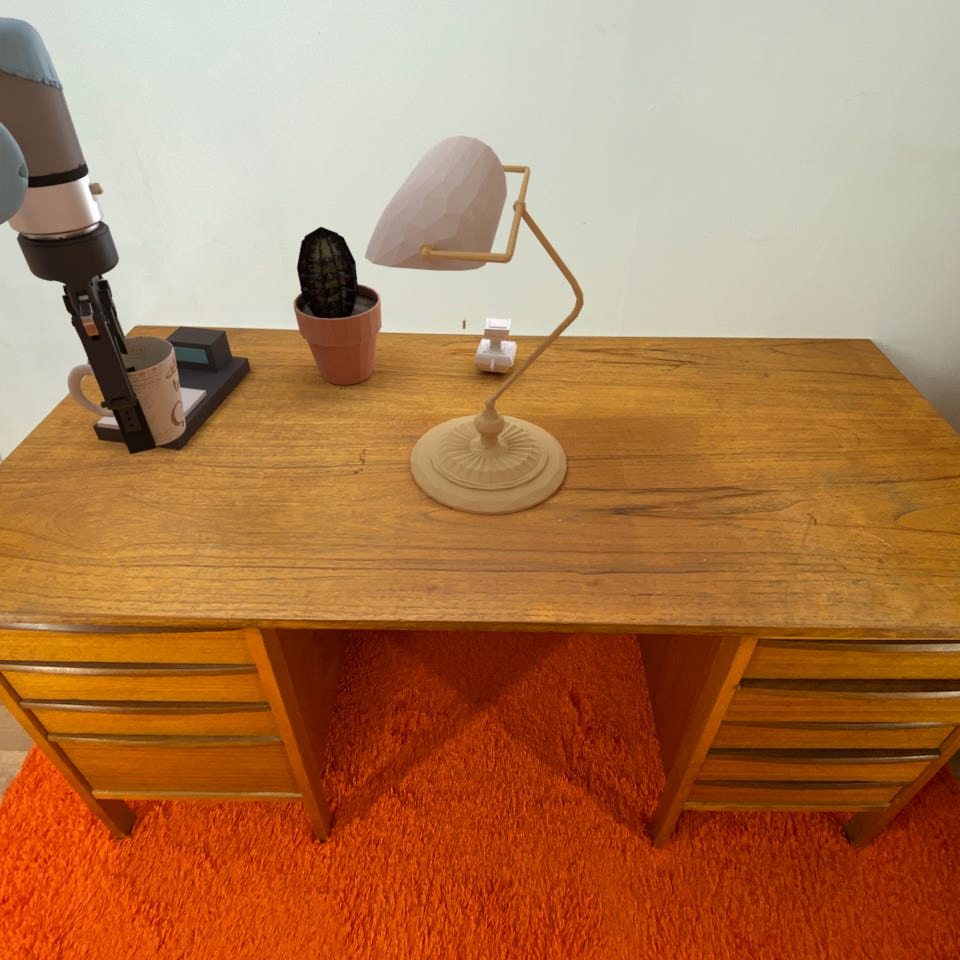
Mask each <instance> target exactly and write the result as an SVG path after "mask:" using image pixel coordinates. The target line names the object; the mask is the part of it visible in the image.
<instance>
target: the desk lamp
mask: <svg viewBox="0 0 960 960" xmlns="http://www.w3.org/2000/svg"><path fill="white" fill-rule="evenodd" d="M506 173H514V174H515V173H516V174H523V177H522V181H521V184H520V185H521V186H520V190H519V193H518V198H517V199H516V200H514V203H513V204H512V209H513V212H514V214H513V219H512V223H511V227H510V231H509V236H508V241H507V245H506V249H505V253H499V252H498V253H497V252H492V249H493V246H494V242H495V239H496V236H497V231H498V228H499V225H500V221H501V218H502V214H503V211H504V207H505V204H506V201H507V197H508V186H507V177H506ZM530 176H531V168H530V166H528V165H513V164H512V165H511V164H510V165H508V164H502V162H501V160H500V159H499V157H498V154H496V152H495V151H494V149H493V148H492V147H491V146H490V145H488V144H486V143H485V142H483V141H482V140H480V139H478V138H477V137H472V136H467V135H456V136H455V135H454V136H449V137H446V138H445V139H443V140H441V141H439V142H437V143H435V144H434V145H432V146H431V147H430V148H429V149H428V150H427V151H426V152H425V153H424V154H423V156H421V158H420V160H419V161H418V162H417V163H416V165H415V166H414V168H413V169H412V171H411V172H410V173H409V175H408V176H407V178H406V179H405V180H404V181H403V183H402V184H401V186H400V187H399V188H398V189H397V191H396V192H395V193H394V195H393V196H392V198H391V199H390V201H389V202H388V203H387V205H386V206H385V208H384V210H383V212H382V213H381V215H380V217H379V219H378V221H377V223H376V225H375V227H374V229H373V233H372V234H371V236H370V239H369V242H368V244H367V247H366V249H365V254H364V258H365V260H367V261H369V262H370V263H371V264H374V265H377V266H382V267H387V268H396V269H407V270H408V269H409V270H410V269H411V270H424V271H435V272H436V271H442V272H445V271H446V272H458V271H459V272H465V271H473V270H478V269H480V268H482V267H484V266H486V264H487V263H492V264H508V263H509V262H511V261H512V259H513V256H514V254H515V251H516V250H515V249H516V244H517V239H518V234H519V230H520V226H521V225H520V224H521V219H523V221H524V222H525V223H526V225H527V226H528V228H529V229H530V230H531V232H532V233H533V235H534V236H535V237H536V239H537V240H538V241H539V243H540V244H541V246H542V247H543V249H544V250H545V251H546V253H547V254H548V256H549V257H550V258H551V260H552V261H553V263H554V264H555V265H556V267H557V268H558V269H559V271H560V272H561V273H562V275H563V276H564V278H565V280H567V282H568V283H569V285H570V286H571V290H572V292H573V293H574V296H575V298H576V300H575V303H574V304H575V305H574V307H573V309H572V311H571V312H570V314H568V316H567V317H566V318H565V319H564V320H563V321H562V322H561V323H560V324H559V325H558V326H557V327H556V328H555V329H554V330H553V331H552V332H551V333H550V335H548V336H547V338H546V339H545V340H544V341H542V343H541V344H539V346H538V347H537V348H536V349H535V350H534V351H533V352H532V353H531V354H530V355H529V356H528V357H527V358H526V359H525V360H524V361H523V362H522V363H521V364H520V366H518V368H516V370H515V371H514V372H512V374H511V375H510V376H509V377H508V378H507V379H506V380H505V381H504V382H503V383H502V384H501V385H500V386H499V387H498V388H497V389H496V390H495V391H494V392H493V393H492V394H491V395H490V396H489V397H487V398H485V399H484V406H483V408H482V410H480V411H479V412H478V413H476V414H470V415H465V416H459V417H455V418H452V419H448V420H445V421H444V422H441V423H439V424H437V425H436V426H434V427H432V428H430V429H428V430H427V431H426V432H425V433H424V434H423V435H422V436H421V437H420V438H418V440H417V441H416V443H415V445H414V446H413V447H412V450H411V454H410V459H409V464H410V472H411V476H412V478H413V479H414V481H415V482H414V483H416V486H418V488H420V489H421V491H422V492H423V493H424V494H425V495H426V496H428V497H429V498H431V499H432V500H434V501H435V502H437V503H438V504H439V505H443V506H445V507H448V508H451V509H453V510H455V511H460V512H463V513H469V514H473V515H491V516H495V515H503V514H513V513H516V512H520V511H524V510H528V509H531V508H533V507H534V506H536V505H539V504H542V503H543V502H545V501H546V500H547V499H548V498H550V497H551V496H552V495H553V494H555V493H556V492H557V491H558V490H559V488H560V486H561V485H562V483H563V482H564V479H565V476H566V472H567V469H568V468H567V456H566V454H565V452H564V449H563V447H562V445H561V444H560V443H559V442H558V441H557V439H556V438H555V437H554V436H553V435H552V434H550V433H549V432H548V431H547V430H545V429H544V428H542V427H541V426H538V425H536V424H534V423H532V422H530V421H527V420H523V419H522V418H517V417H514V416H511V415H504V414H502V413H501V412H499V411H498V410H497V407H496V401H497V400H498V399H499V398H500V397H501V396H502V395H503V394H504V393H505V392H506V391H507V390H508V389H509V388H510V387H511V386H512V385H513V384H514V383H515V381H517V380H518V379H519V377H520V376H522V374H523V373H524V372H525V371H526V370H527V369H528V368H529V367H530V366H531V365H532V364H534V362H535V361H536V360H537V359H538V358H539V357H540V356H541V355H542V354H543V353H544V352H545V351H546V350H547V349H548V348H549V347H550V346H551V345H552V344H553V342H555V341H556V340H557V338H559V336H560V335H562V334H563V332H565V331H566V329H567V328H568V327H569V326H570V325H572V323H573V322H574V321H576V320H577V318H578V317H579V315H580V313H581V311H582V309H583V306H584V304H585V303H584V292H583V291H582V287H580V284H579V282H578V280H577V279H576V277H575V276H574V275H573V273H572V272H571V270H570V269H569V268H568V266H567V265H566V263H565V261H564V260H563V259H562V257H560V255H559V254H558V252H557V251H556V250H555V248H554V247H553V246H552V244H551V242H550V241H549V240H548V238H547V237H546V236H545V234H544V233H543V231H542V230H541V228H540V227H539V226H538V224H537V223H536V222H535V220H534V219H533V218H532V216H531V215H530V213H529V212H528V211H527V205H526V202H525V199H526V195H527V191H528V185H529V181H530ZM466 324H467V323H466V319H462V329H463V330H466V326H467V325H466Z"/></svg>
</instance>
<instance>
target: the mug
mask: <svg viewBox="0 0 960 960" xmlns="http://www.w3.org/2000/svg"><path fill="white" fill-rule="evenodd" d="M123 341H124V344H125V347H126V349H127V352H128V355H127V354H122V353H121V355H122V358H123V361H124V364H125V367H126V369H127V368H130V367H135V370H136V371H135V372H130V373H128V372H127V376H128V379H129V381H130V384H131V386H132V389H133V391H134V393H136V396H137V398H136V399H138V400H139V403H140V405H141V408H142V410H143V413H144V415H145V418H146V420H147V423H148V425H149V428H150V430H151V433H152V435H153V438H154V440H155V443H156V446H158V445H162V444H166V443H169V442H171V441H173V440H175V439H177V438H178V437H179V436H181V435H182V434H183V432H184V431H185V428H186V423H185V416H184V409H183V403H182V396H181V390H180V384H179V377H178V371H177V364H176V358H175V352H174V349H173V346H172V345H171V343H170V342H168V341H167V340H165V339H164V338H162V337H158V336H151V335H140V336H138V335H136V336H129V337H125V338H123ZM86 376H93V378H94V380H95V382H96V383H97V384H98V382H97V380H96V377H95V375H94V372H93V370H92V367H91V365H90V362H89V360H88V359H87V364H78V365H75V366H74V367H73V368H72V369H71V370H70V372H69V374H68V376H67V388H68V391H69V393H70V395H71V397H72V398H73V399H74V400H75V401H76V402H77V404H79V405H80V406H81V407H82V408H84V409H86V410H87V411H89V412H92V413H93V414H96V415H98V416H100V417H115V416H114V414H113V412H112V410H109V409H107V408H102V407H101V406H99V405H97V404H95V403H94V402H92V401H91V400H90V399H89V398H87V396H86V395H85V394H84V392H83V391H82V387H81V382H82V380H83V379H84V378H86Z"/></svg>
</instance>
